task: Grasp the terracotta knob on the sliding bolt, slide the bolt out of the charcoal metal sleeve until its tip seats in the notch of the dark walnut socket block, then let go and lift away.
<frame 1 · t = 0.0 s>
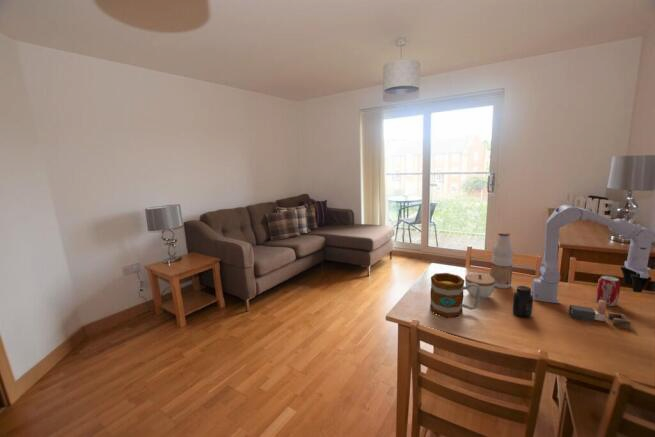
hand: (632, 288, 119), 10 cm above the table, tool pointing down, fingers open, 7 cm apart
sliding bolt: (588, 308, 116), point 5 cm above the table, slide at 0.0 cm
sleeve: (581, 317, 117), on the table
supplement bottle: (521, 314, 122), on the table
lidded bowl: (478, 296, 139), on the table
fruit juice: (500, 285, 149), on the table
mug: (453, 311, 126), on the table
soda can: (605, 303, 127), on the table
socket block: (618, 323, 112), on the table
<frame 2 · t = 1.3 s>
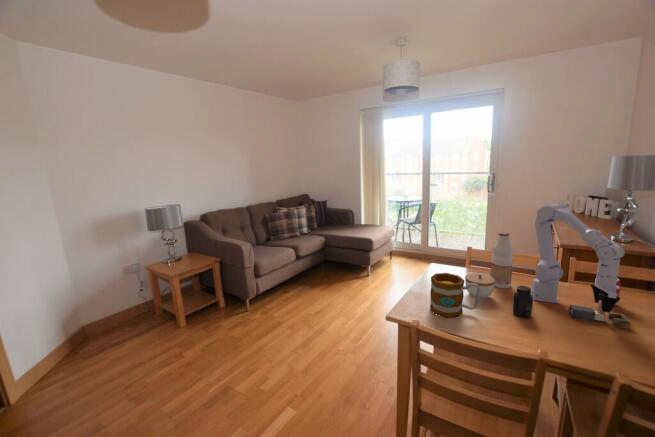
hand: (602, 307, 113), 6 cm above the table, tool pointing down, fingers open, 7 cm apart
nothing on the table moved.
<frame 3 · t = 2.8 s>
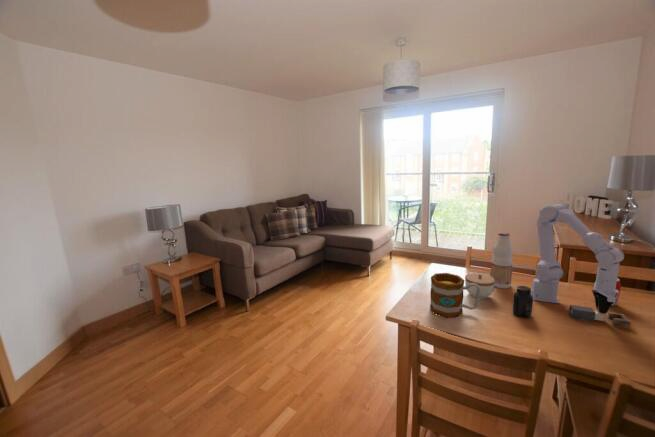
hand: (601, 310, 114), 4 cm above the table, tool pointing down, fingers closed on sliding bolt, 2 cm apart
sliding bolt: (588, 308, 116), point 5 cm above the table, slide at 0.0 cm, touching gripper
everything else where it was.
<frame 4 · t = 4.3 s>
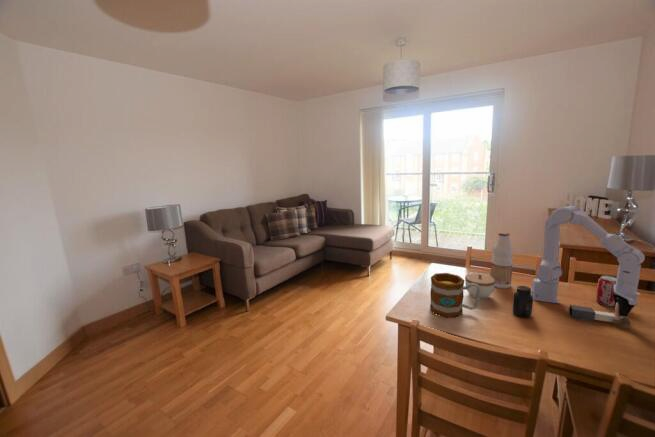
hand: (621, 313, 111), 4 cm above the table, tool pointing down, fingers closed on sliding bolt, 2 cm apart
sliding bolt: (605, 310, 113), point 5 cm above the table, slide at 5.0 cm, touching gripper
everything else where it was.
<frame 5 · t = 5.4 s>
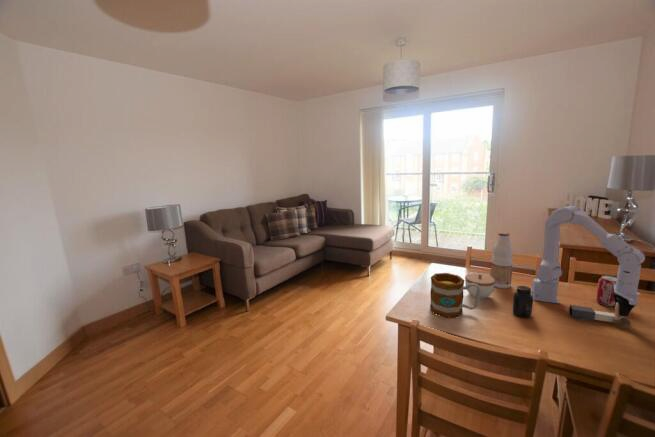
hand: (621, 313, 111), 4 cm above the table, tool pointing down, fingers closed on sliding bolt, 2 cm apart
sliding bolt: (605, 310, 113), point 5 cm above the table, slide at 5.1 cm, touching gripper
everything else where it was.
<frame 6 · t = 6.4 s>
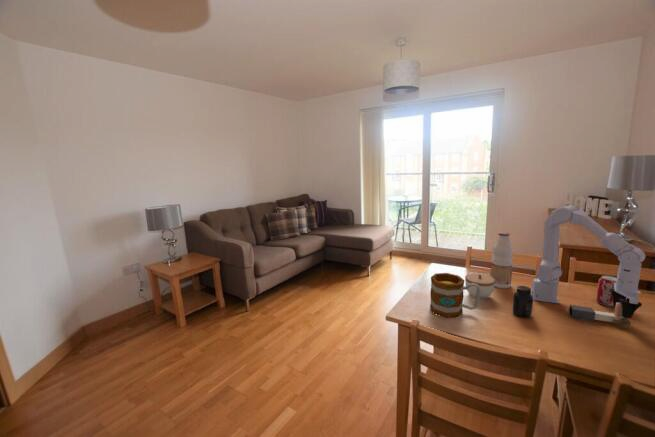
hand: (621, 312, 111), 5 cm above the table, tool pointing down, fingers open, 7 cm apart
sliding bolt: (605, 310, 113), point 5 cm above the table, slide at 5.0 cm
everything else where it was.
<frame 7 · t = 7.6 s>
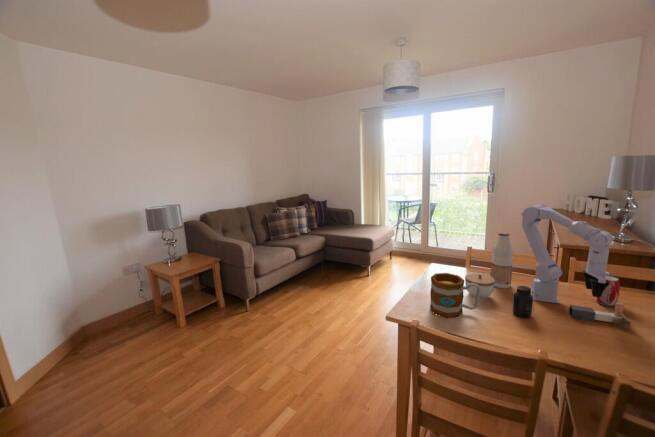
hand: (592, 292, 118), 9 cm above the table, tool pointing down, fingers open, 7 cm apart
nothing on the table moved.
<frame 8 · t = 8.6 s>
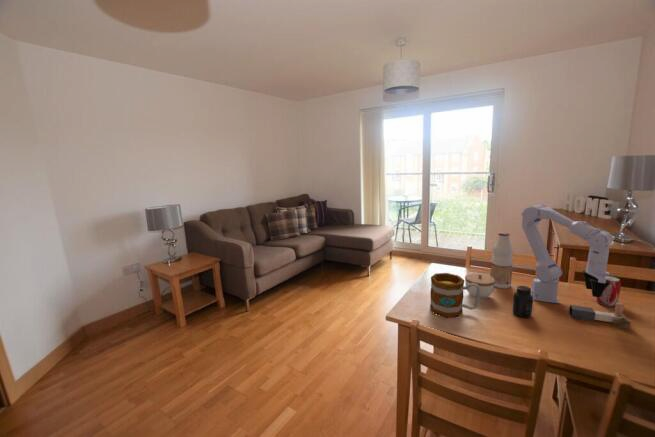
hand: (592, 292, 118), 9 cm above the table, tool pointing down, fingers open, 7 cm apart
nothing on the table moved.
at the end: sliding bolt slide at 5.0 cm; the gripper is holding nothing; soda can moved 0.2 cm from its start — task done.
